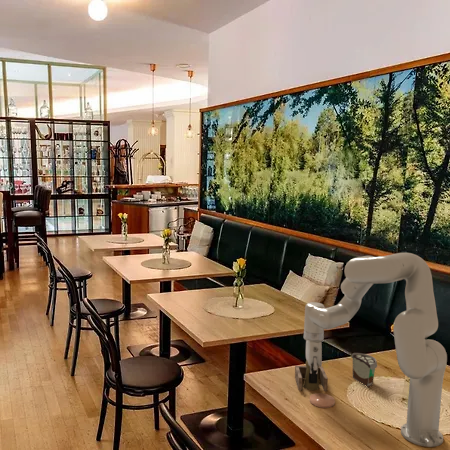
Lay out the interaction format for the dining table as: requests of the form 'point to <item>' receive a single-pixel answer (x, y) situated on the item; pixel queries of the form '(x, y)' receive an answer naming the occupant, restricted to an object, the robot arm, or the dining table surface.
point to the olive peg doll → (306, 383)
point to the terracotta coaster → (322, 400)
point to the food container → (364, 368)
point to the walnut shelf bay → (301, 372)
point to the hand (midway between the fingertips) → (311, 379)
